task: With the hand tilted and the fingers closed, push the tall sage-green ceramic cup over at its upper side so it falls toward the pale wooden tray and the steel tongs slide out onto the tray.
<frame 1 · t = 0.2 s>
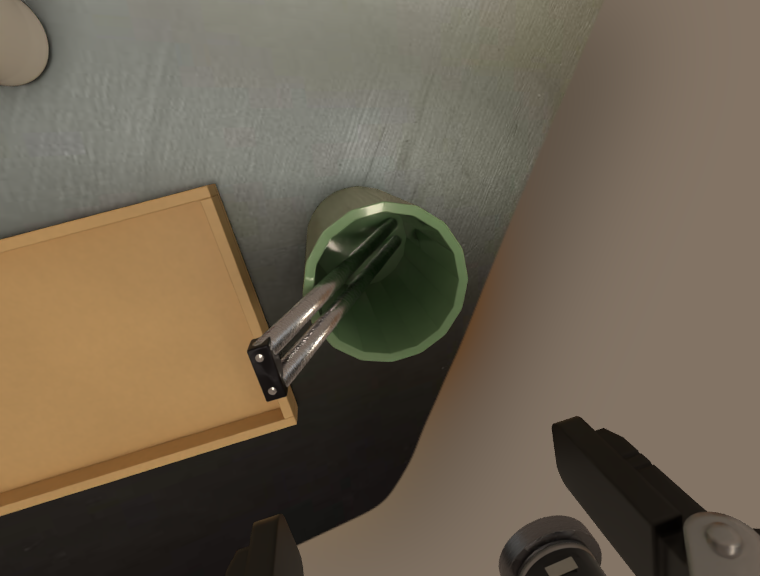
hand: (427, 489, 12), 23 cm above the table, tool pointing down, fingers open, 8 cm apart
tray: (53, 364, 32), on the table
drinking glass: (7, 41, 26), on the table
tongs: (353, 276, 24), point 10 cm above the table, touching green cup
green cup: (359, 239, 33), on the table, touching tongs
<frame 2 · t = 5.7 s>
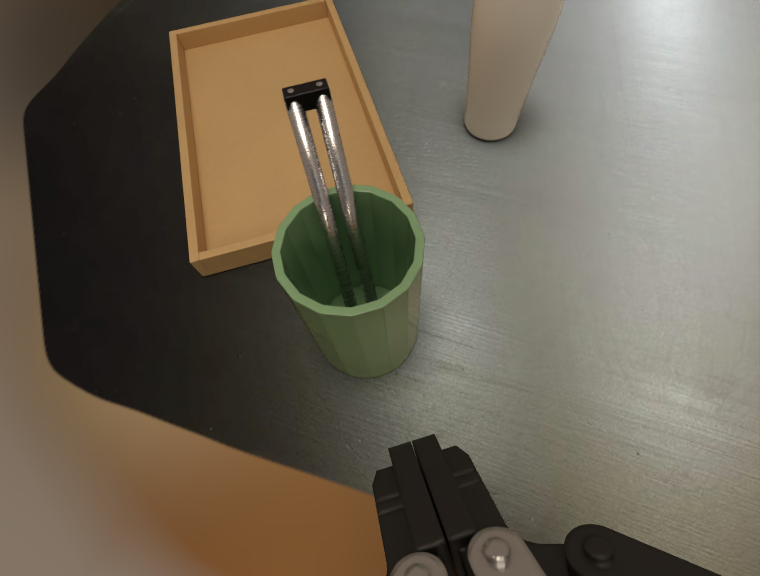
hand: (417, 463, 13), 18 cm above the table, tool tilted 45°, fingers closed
tray: (279, 124, 45), on the table
drinking glass: (488, 125, 43), on the table
tongs: (348, 254, 26), point 10 cm above the table, touching green cup
green cup: (367, 328, 34), on the table, touching tongs
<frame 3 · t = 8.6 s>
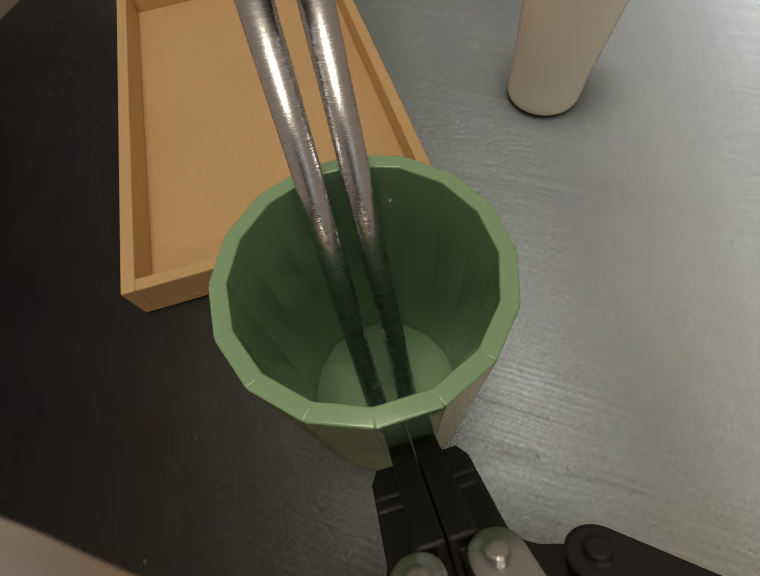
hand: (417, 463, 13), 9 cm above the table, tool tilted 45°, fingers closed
tray: (259, 101, 34), on the table
drinking glass: (540, 97, 32), on the table
tongs: (360, 283, 15), point 10 cm above the table, touching green cup
green cup: (386, 389, 23), on the table, touching gripper, tongs
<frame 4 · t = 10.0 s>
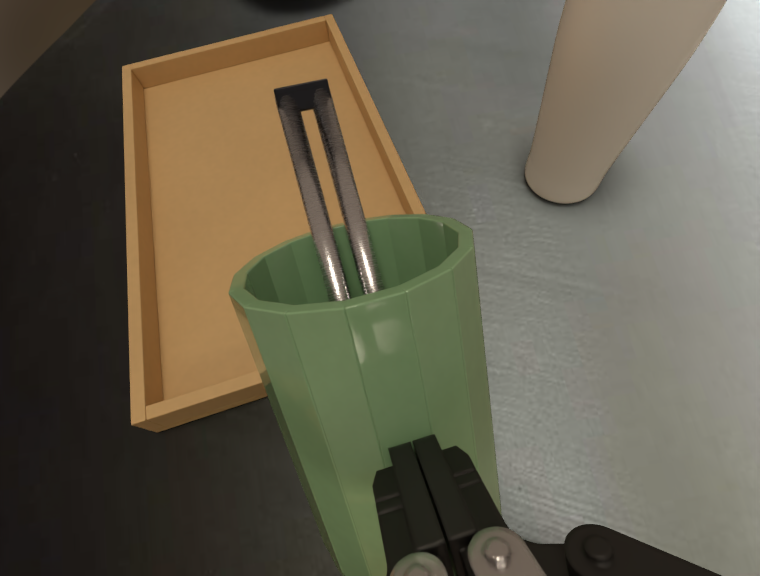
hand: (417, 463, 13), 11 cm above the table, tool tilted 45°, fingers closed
tray: (269, 186, 33), on the table
drinking glass: (558, 181, 31), on the table
tongs: (363, 318, 17), point 9 cm above the table, tilted 39°, touching green cup
green cup: (410, 507, 20), point 2 cm above the table, tilted 38°, touching gripper, tongs
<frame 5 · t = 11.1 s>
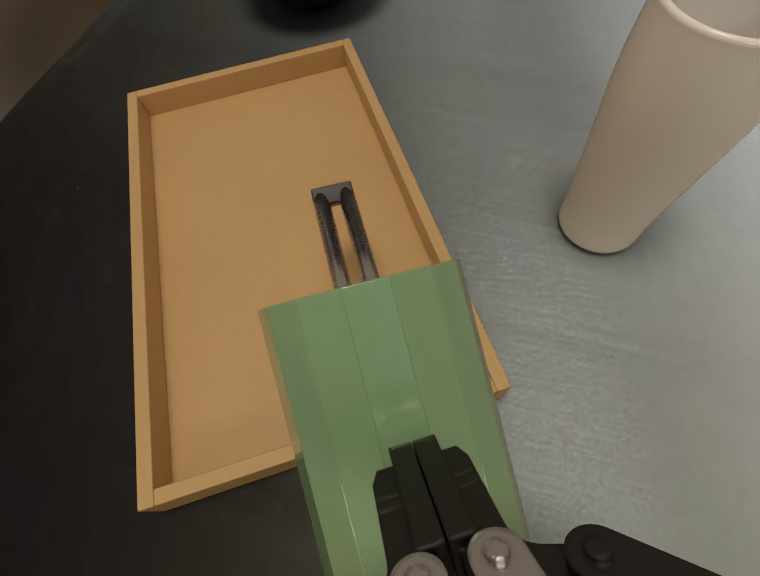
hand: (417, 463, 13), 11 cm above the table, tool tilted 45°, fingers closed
tray: (284, 227, 31), on the table
drinking glass: (594, 226, 29), on the table
decorative sphere: (315, 0, 45), on the table
tongs: (377, 358, 18), point 7 cm above the table, tilted 64°, touching green cup
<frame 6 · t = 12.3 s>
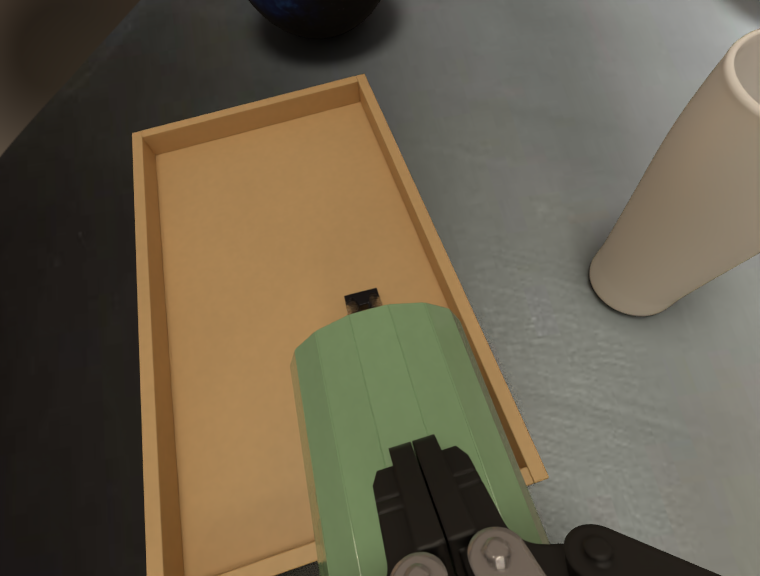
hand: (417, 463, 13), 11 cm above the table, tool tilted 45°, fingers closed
tray: (298, 281, 29), on the table
drinking glass: (626, 284, 28), on the table
decorative sphere: (326, 27, 43), on the table
tongs: (395, 419, 19), point 5 cm above the table, tilted 92°, touching green cup
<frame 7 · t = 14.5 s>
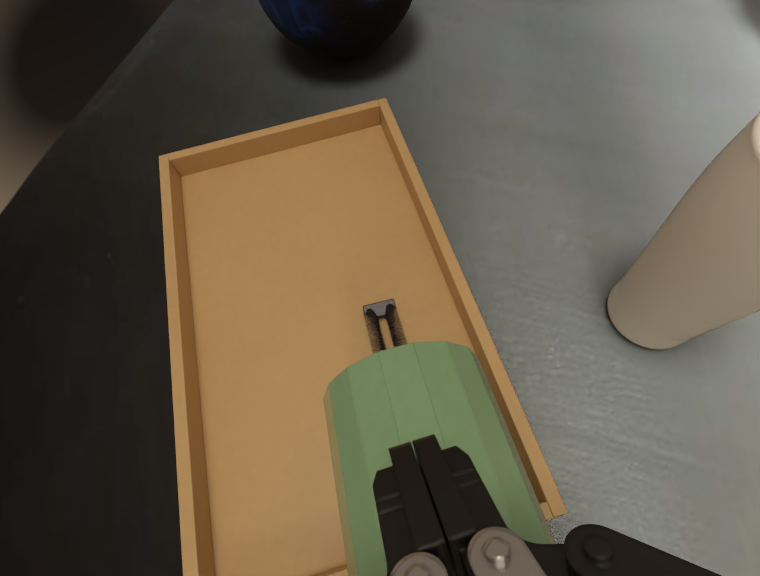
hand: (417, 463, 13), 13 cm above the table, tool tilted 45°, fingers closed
tray: (322, 307, 30), on the table
drinking glass: (643, 315, 28), on the table
decorative sphere: (346, 45, 43), on the table
tongs: (417, 447, 23), point 3 cm above the table, tilted 77°, touching green cup, tray
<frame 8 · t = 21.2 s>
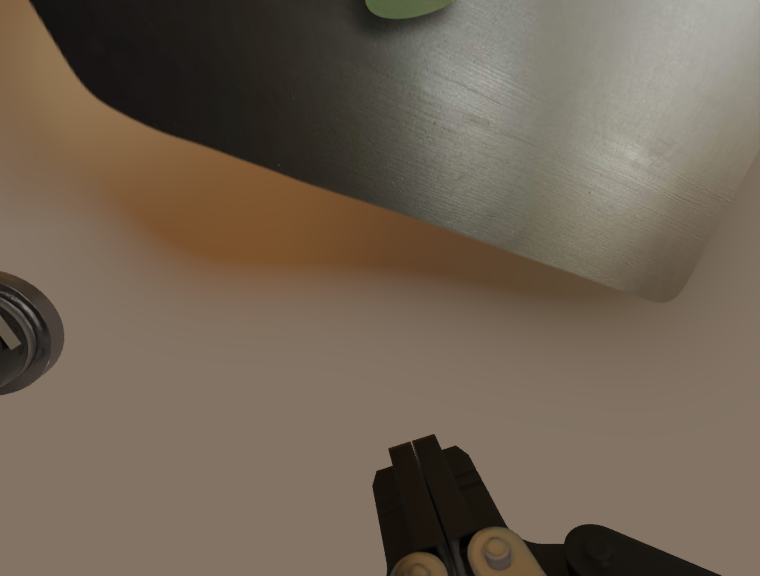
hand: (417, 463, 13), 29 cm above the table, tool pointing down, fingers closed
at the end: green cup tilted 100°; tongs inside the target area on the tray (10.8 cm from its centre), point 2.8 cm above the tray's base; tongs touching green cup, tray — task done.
